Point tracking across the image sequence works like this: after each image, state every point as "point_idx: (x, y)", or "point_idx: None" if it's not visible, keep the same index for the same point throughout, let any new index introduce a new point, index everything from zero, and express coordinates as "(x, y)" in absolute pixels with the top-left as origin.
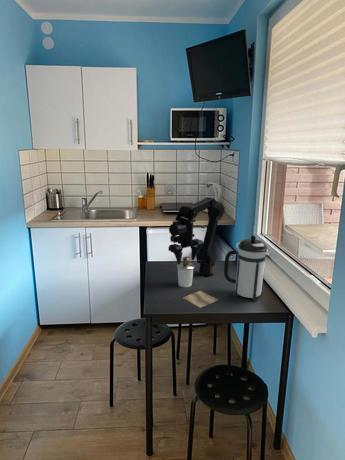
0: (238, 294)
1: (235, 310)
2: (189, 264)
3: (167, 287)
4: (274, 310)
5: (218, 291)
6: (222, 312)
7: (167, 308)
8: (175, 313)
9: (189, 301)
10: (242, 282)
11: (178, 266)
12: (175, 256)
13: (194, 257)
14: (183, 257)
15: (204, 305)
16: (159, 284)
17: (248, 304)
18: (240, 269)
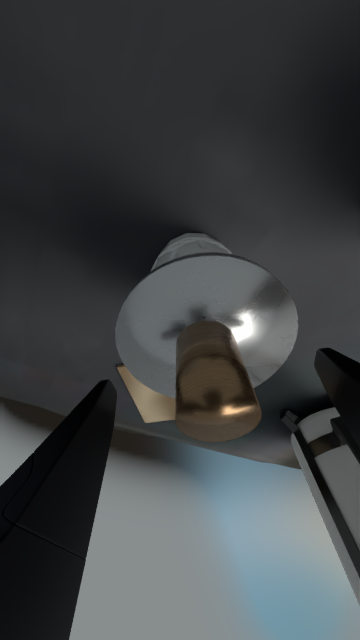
0: (298, 421)
1: (223, 446)
2: (254, 339)
3: (88, 256)
4: (298, 466)
5: (275, 372)
6: (188, 443)
7: (46, 392)
8: (65, 415)
9: (131, 392)
10: (312, 493)
11: (126, 339)
12: (11, 478)
13: (343, 410)
14: (194, 399)
15: (163, 419)
16: (46, 192)
17: (276, 441)
18: (347, 560)
